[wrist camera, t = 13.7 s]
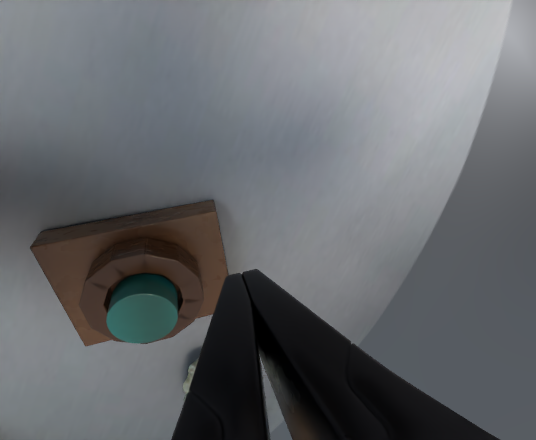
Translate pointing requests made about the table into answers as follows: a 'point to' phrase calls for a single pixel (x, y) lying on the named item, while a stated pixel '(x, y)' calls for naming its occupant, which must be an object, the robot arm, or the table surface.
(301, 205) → the table surface
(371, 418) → the robot arm
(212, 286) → the button block
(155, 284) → the button
